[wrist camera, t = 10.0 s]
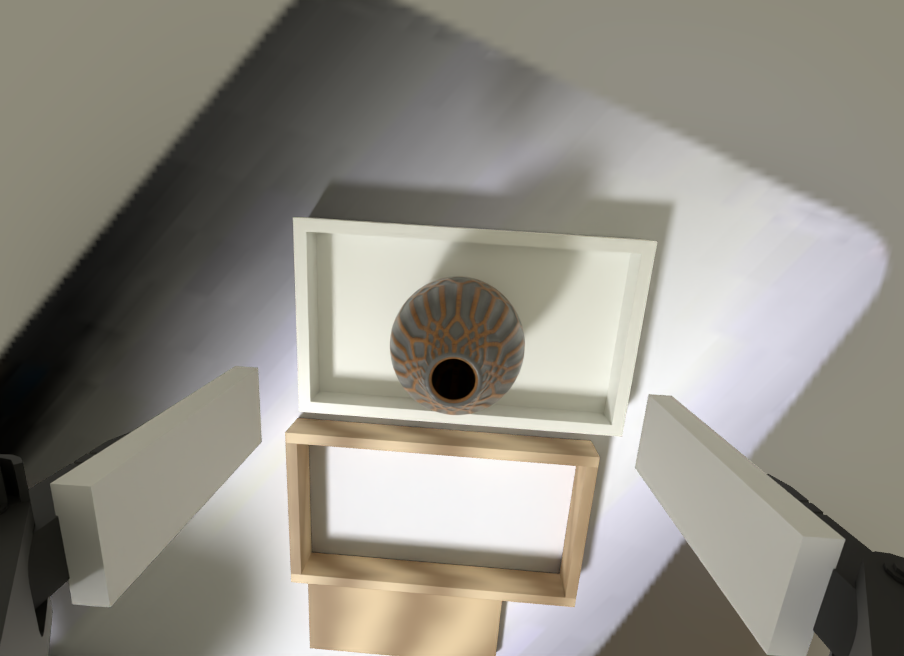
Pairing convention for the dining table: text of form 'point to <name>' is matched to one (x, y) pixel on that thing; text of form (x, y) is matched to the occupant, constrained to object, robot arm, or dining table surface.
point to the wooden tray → (427, 574)
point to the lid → (401, 622)
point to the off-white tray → (500, 265)
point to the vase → (457, 345)
